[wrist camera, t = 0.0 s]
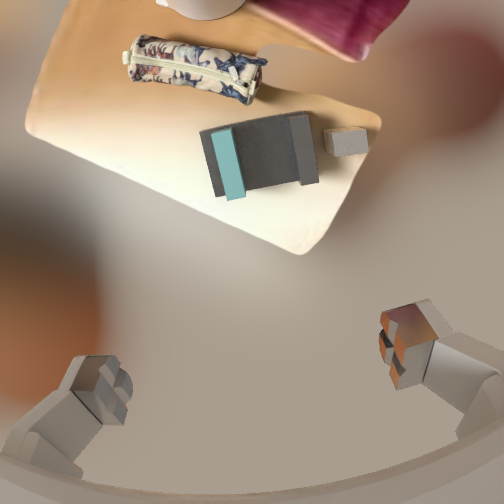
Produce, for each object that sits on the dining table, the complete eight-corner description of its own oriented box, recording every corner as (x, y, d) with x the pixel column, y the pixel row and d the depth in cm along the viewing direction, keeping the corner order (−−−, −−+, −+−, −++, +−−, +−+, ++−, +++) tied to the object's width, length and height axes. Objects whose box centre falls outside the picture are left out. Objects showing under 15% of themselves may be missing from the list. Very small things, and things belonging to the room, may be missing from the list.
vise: (200, 130, 50) (194, 134, 44) (302, 110, 49) (310, 111, 42) (216, 194, 55) (213, 206, 49) (313, 174, 54) (322, 184, 48)
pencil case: (267, 63, 45) (271, 54, 36) (252, 107, 48) (254, 108, 40) (147, 39, 41) (128, 28, 33) (134, 82, 45) (112, 79, 36)
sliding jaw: (214, 131, 48) (210, 134, 43) (231, 127, 48) (230, 129, 43) (228, 192, 53) (227, 200, 48) (245, 188, 53) (245, 196, 48)
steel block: (322, 129, 50) (331, 133, 45) (354, 126, 50) (366, 129, 44) (326, 151, 52) (335, 157, 47) (356, 147, 52) (368, 152, 46)
